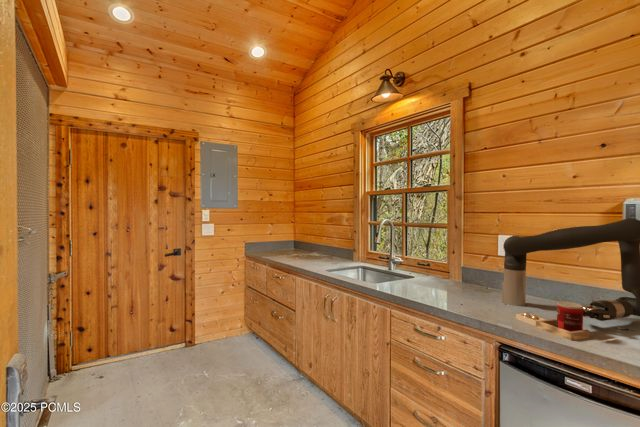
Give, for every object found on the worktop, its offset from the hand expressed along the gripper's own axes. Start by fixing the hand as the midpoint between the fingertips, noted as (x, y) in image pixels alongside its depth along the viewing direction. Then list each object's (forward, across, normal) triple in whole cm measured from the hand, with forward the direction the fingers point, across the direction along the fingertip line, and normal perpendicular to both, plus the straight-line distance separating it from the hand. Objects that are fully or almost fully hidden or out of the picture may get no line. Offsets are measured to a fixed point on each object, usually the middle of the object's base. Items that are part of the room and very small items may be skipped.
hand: (574, 313), depth 126 cm
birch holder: (+6, 0, +7) cm, 9 cm away
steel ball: (+7, -14, +6) cm, 17 cm away
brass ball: (+7, -10, +6) cm, 14 cm away
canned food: (+4, +1, +7) cm, 8 cm away
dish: (+7, -12, +7) cm, 16 cm away
